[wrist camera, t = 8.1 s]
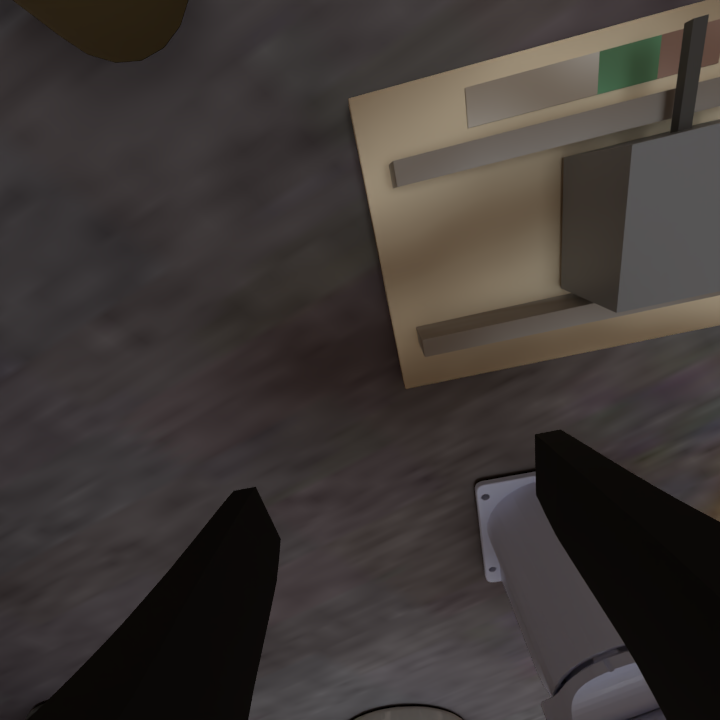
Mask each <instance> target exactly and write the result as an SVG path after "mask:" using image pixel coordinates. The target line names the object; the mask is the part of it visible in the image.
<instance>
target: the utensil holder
mask: <svg viewBox="0 0 720 720" xmlns="http://www.w3.org/2000/svg"><path fill="white" fill-rule="evenodd" d="M354 720H462V719H461V718H460V717H458V716H456V715H455V714H453V713H450V712H448V711H444V710H441V709H437V708H431V707H420V706H406V707H393V708H386V709H381V710H377V711H374V712H371V713H368V714H365V715H362V716H360V717H358V718H356V719H354Z"/></svg>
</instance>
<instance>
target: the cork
mask: <svg viewBox="0 0 720 720" xmlns="http://www.w3.org/2000/svg"><path fill="white" fill-rule="evenodd" d="M13 1H15V2H16V3H17V4H18V5H20V6H21V7H22V8H24V9H25V10H26V11H28V12H29V13H30V14H32V15H33V16H34V17H36V18H37V19H38V20H40V21H41V22H42V23H43V24H45V25H46V26H47V27H49V28H50V29H51V30H53V31H54V32H55V33H57V34H58V35H59V36H61V37H62V38H64V39H65V40H67V41H68V42H70V43H71V44H73V45H74V46H76V47H77V48H79V49H80V50H82V51H83V52H85V53H86V54H88V55H92V56H95V57H98V58H102V59H105V60H109V61H112V62H115V63H116V62H128V61H140V60H143V59H145V58H146V57H148V56H150V55H152V54H153V53H155V52H157V51H159V50H161V49H162V48H164V46H165V45H166V44H167V42H168V41H169V40H170V38H171V37H172V36H173V34H174V33H175V32H176V30H177V29H178V28H179V26H180V24H181V21H182V18H183V15H184V12H185V8H186V5H187V2H188V0H13Z"/></svg>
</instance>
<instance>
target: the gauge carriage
mask: <svg viewBox="0 0 720 720" xmlns="http://www.w3.org/2000/svg"><path fill="white" fill-rule="evenodd" d="M708 18H709V14H708V15H704V16H701V17H697V18H693V19H692V20H690V21H688V22H686V23H684V30H683V38H682V46H681V53H680V61H679V68H678V76H677V84H676V91H675V99H674V106H673V114H672V122H671V129H670V131H668V132H664V133H660V134H656V135H652V136H648V137H644V138H640V139H636V140H632V141H628V142H624V143H620V144H616V145H612V146H608V147H604V148H600V149H596V150H592V151H587V152H583V153H579V154H575V155H571V156H567V157H564V167H563V214H562V261H561V288H562V289H564V290H566V291H568V292H571V293H573V294H575V295H577V296H580V297H582V298H584V299H586V300H589V301H591V302H593V303H595V304H598V305H600V306H602V307H604V308H607V309H609V310H611V311H613V312H616V313H619V312H624V311H628V310H633V309H638V308H643V307H647V306H652V305H657V304H662V303H666V302H671V301H676V300H681V299H685V298H690V297H695V296H700V295H704V294H709V293H714V292H718V291H720V119H718V120H713V121H709V122H704V123H700V124H696V125H692V122H693V116H694V109H695V103H696V96H697V90H698V83H699V77H700V70H701V64H702V57H703V51H704V44H705V38H706V31H707V25H708Z"/></svg>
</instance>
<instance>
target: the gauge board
mask: <svg viewBox="0 0 720 720" xmlns="http://www.w3.org/2000/svg"><path fill="white" fill-rule="evenodd" d="M708 14H709V18H708V25H707V31H706V38H705V44H704V51H703V57H702V64H701V70H700V77H699V83H698V90H697V96H696V103H695V109H694V116H693V122H692V125H696V124H700V123H704V122H709V121H713V120H718V119H720V0H705V1H702V2H698V3H694V4H691V5H687V6H684V7H680V8H676V9H673V10H669V11H665V12H662V13H658V14H654V15H651V16H647V17H644V18H640V19H636V20H633V21H629V22H625V23H622V24H618V25H614V26H611V27H607V28H604V29H600V30H596V31H593V32H589V33H585V34H582V35H578V36H574V37H571V38H567V39H564V40H560V41H556V42H553V43H549V44H545V45H542V46H538V47H534V48H531V49H527V50H524V51H520V52H516V53H513V54H509V55H505V56H502V57H498V58H494V59H491V60H487V61H484V62H480V63H476V64H473V65H469V66H465V67H462V68H458V69H454V70H451V71H447V72H443V73H440V74H436V75H433V76H429V77H425V78H422V79H418V80H414V81H411V82H407V83H403V84H400V85H396V86H393V87H389V88H385V89H382V90H378V91H374V92H371V93H367V94H363V95H360V96H356V97H353V98H349V99H348V100H349V110H350V115H351V120H352V125H353V130H354V135H355V140H356V145H357V150H358V155H359V160H360V165H361V171H362V176H363V181H364V186H365V191H366V196H367V201H368V206H369V211H370V216H371V221H372V226H373V231H374V236H375V241H376V246H377V251H378V256H379V261H380V266H381V271H382V276H383V282H384V287H385V292H386V297H387V302H388V307H389V312H390V317H391V322H392V327H393V332H394V337H395V342H396V347H397V352H398V357H399V362H400V367H401V372H402V377H403V381H404V385H405V388H406V389H408V388H413V387H418V386H423V385H428V384H433V383H438V382H443V381H448V380H452V379H457V378H462V377H467V376H472V375H477V374H482V373H487V372H492V371H497V370H502V369H506V368H511V367H516V366H521V365H526V364H531V363H536V362H541V361H546V360H551V359H555V358H560V357H565V356H570V355H575V354H580V353H585V352H590V351H595V350H600V349H605V348H609V347H614V346H619V345H624V344H629V343H634V342H639V341H644V340H649V339H654V338H658V337H663V336H668V335H673V334H678V333H683V332H688V331H693V330H698V329H703V328H708V327H712V326H717V325H720V291H718V292H714V293H709V294H704V295H700V296H695V297H690V298H685V299H681V300H676V301H671V302H666V303H662V304H657V305H652V306H647V307H643V308H638V309H633V310H628V311H624V312H619V313H616V312H613V311H611V310H609V309H607V308H604V307H602V306H600V305H598V304H595V303H593V302H591V301H589V300H586V299H584V298H582V297H580V296H577V295H575V294H573V293H571V292H568V291H566V290H564V289H562V288H561V261H562V214H563V167H564V157H567V156H571V155H575V154H579V153H583V152H587V151H592V150H596V149H600V148H604V147H608V146H612V145H616V144H620V143H624V142H628V141H632V140H636V139H640V138H644V137H648V136H652V135H656V134H660V133H664V132H668V131H670V129H671V122H672V114H673V106H674V99H675V91H676V84H677V76H678V68H679V61H680V53H681V46H682V38H683V30H684V23H686V22H688V21H690V20H692V19H693V18H697V17H701V16H704V15H708Z"/></svg>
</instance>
